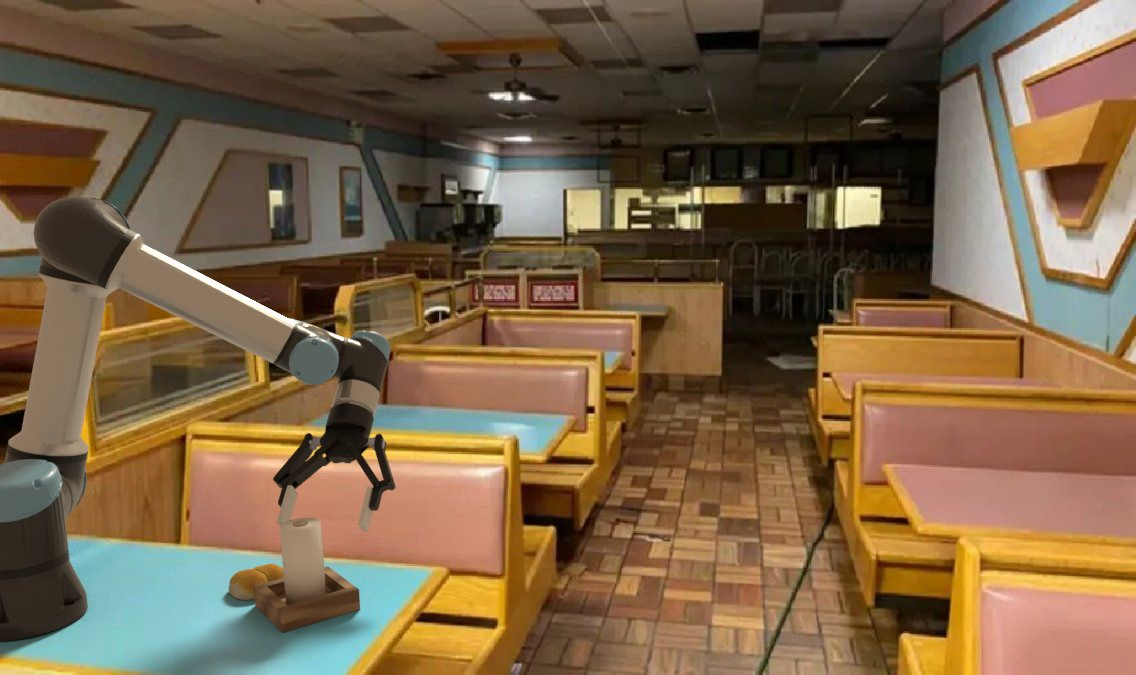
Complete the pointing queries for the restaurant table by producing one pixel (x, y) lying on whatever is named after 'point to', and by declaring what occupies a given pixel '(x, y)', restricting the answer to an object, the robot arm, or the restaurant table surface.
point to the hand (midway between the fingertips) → (322, 527)
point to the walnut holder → (306, 602)
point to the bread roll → (253, 580)
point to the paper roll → (302, 559)
